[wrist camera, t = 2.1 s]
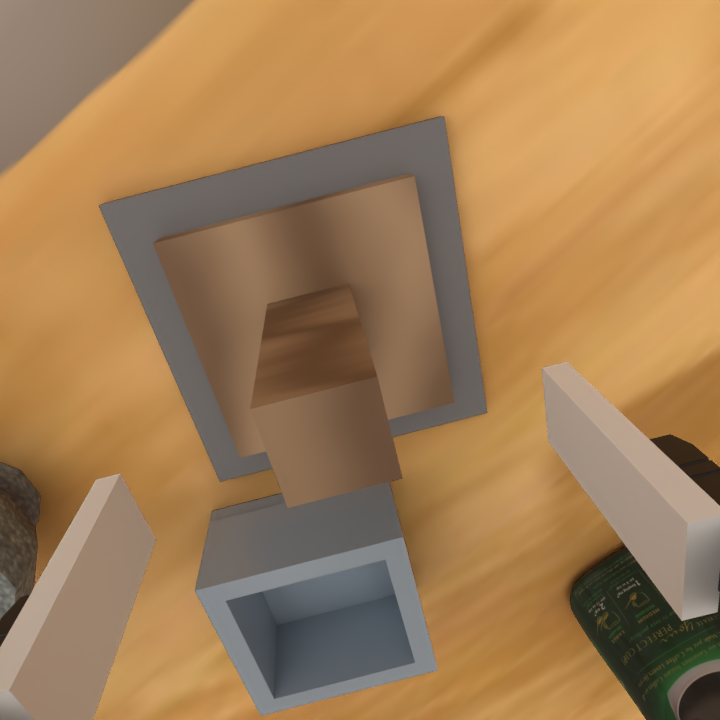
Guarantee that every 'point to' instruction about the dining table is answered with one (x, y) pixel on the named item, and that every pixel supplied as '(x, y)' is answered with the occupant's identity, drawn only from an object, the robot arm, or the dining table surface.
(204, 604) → the blue-grey square box
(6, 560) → the mortar and pestle
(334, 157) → the mat
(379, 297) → the lid
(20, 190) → the dining table surface
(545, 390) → the robot arm
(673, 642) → the coffee jar
